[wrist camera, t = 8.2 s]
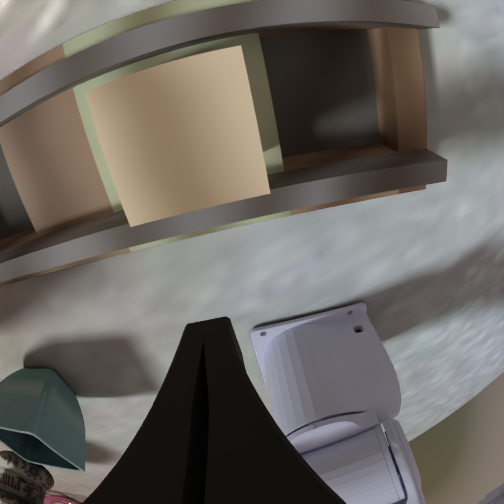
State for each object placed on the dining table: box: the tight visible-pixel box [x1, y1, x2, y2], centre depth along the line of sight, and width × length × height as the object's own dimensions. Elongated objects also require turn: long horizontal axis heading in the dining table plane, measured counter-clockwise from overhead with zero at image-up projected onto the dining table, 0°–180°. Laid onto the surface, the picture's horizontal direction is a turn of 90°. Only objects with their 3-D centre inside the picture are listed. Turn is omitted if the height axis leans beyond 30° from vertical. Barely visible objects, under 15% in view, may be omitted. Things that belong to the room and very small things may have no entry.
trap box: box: [0, 0, 447, 286], centre depth 14 cm, size 32×12×4 cm, turn 101°
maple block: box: [85, 45, 270, 227], centre depth 11 cm, size 5×5×5 cm
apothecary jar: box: [0, 451, 54, 504], centre depth 31 cm, size 12×12×18 cm
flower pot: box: [0, 368, 85, 472], centre depth 23 cm, size 9×9×9 cm
